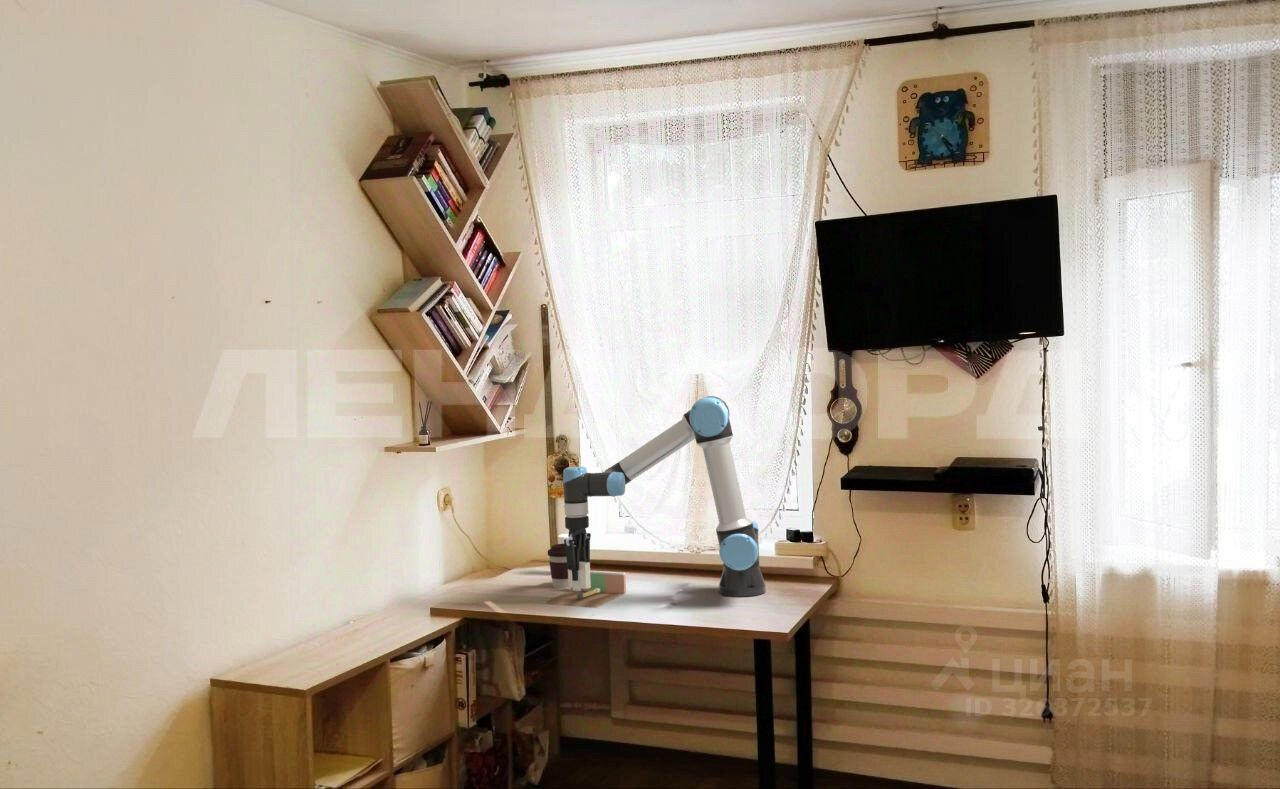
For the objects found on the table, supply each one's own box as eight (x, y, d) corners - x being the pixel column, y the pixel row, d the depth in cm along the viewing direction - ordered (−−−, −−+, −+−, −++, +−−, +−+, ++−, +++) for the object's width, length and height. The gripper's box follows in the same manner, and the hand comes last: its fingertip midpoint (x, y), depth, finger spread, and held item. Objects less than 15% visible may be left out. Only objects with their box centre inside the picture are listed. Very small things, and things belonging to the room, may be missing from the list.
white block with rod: (586, 601, 320) (585, 563, 320) (569, 599, 324) (567, 562, 323) (607, 594, 329) (605, 557, 329) (589, 592, 333) (588, 555, 333)
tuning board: (626, 596, 330) (626, 592, 330) (596, 611, 311) (595, 607, 311) (573, 592, 339) (573, 589, 339) (540, 607, 320) (540, 603, 320)
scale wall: (626, 592, 330) (625, 572, 330) (624, 593, 329) (623, 573, 328) (572, 589, 339) (571, 569, 338) (570, 590, 337) (569, 570, 337)
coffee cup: (560, 593, 338) (558, 548, 338) (543, 589, 346) (541, 545, 345) (584, 588, 345) (582, 544, 344) (566, 584, 352) (564, 541, 352)
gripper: (578, 511, 331) (581, 583, 332) (553, 519, 317) (556, 594, 317) (599, 512, 328) (602, 584, 328) (574, 519, 313) (577, 595, 314)
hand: (579, 589), depth 323 cm, fingers closed on white block with rod, 3 cm apart
